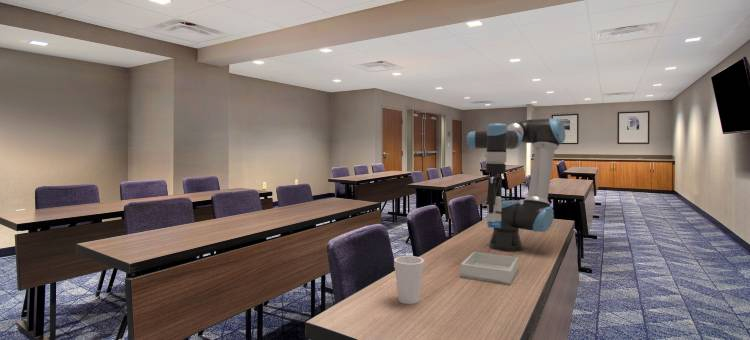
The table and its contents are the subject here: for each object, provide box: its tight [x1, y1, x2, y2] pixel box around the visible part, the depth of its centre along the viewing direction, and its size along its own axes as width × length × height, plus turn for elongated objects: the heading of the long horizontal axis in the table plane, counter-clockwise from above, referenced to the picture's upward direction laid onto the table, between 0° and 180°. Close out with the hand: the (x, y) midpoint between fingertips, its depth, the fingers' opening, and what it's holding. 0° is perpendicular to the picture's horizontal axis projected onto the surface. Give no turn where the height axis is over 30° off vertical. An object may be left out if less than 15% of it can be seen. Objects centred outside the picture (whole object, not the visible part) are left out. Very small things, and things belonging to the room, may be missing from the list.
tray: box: [459, 251, 519, 286], centre depth 152 cm, size 20×18×5 cm
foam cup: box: [393, 255, 425, 305], centre depth 125 cm, size 10×9×13 cm
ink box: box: [486, 196, 503, 229], centre depth 155 cm, size 9×5×12 cm, turn 168°
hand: (493, 219), depth 155 cm, fingers closed on ink box, 9 cm apart
